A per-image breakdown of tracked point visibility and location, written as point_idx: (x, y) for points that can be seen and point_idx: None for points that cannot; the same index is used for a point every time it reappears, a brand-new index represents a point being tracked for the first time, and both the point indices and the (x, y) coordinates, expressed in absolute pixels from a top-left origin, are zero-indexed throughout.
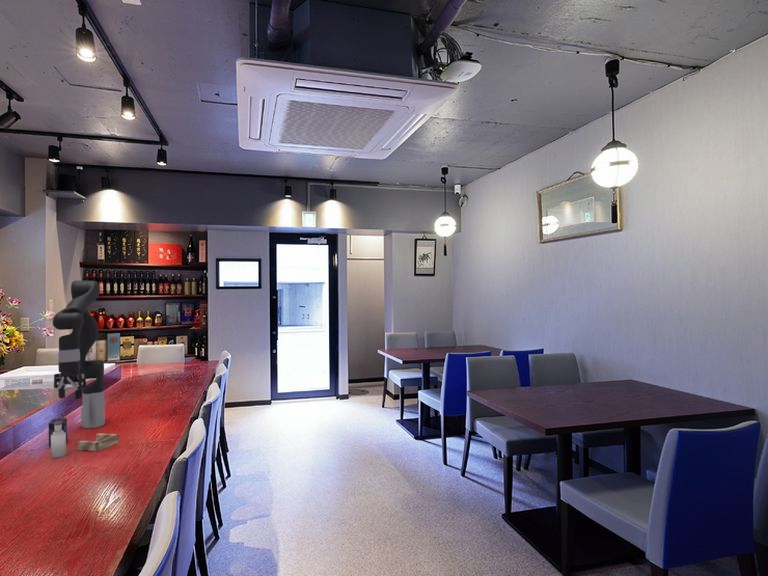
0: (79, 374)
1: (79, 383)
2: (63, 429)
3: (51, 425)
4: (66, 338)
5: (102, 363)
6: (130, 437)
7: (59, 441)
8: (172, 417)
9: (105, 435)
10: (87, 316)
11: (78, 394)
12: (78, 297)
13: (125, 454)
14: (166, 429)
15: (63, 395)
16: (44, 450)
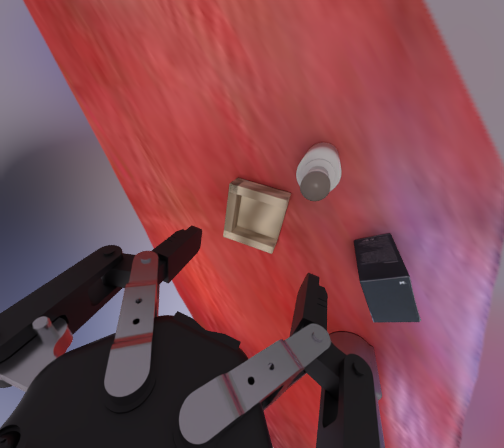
0: (9, 380)
1: (80, 275)
2: (357, 265)
3: (396, 271)
4: None
5: None
6: (225, 250)
7: (306, 154)
8: (217, 331)
9: (249, 238)
10: None
11: (169, 238)
12: None
13: (169, 148)
14: (188, 275)
15: (300, 296)
16: (390, 209)
